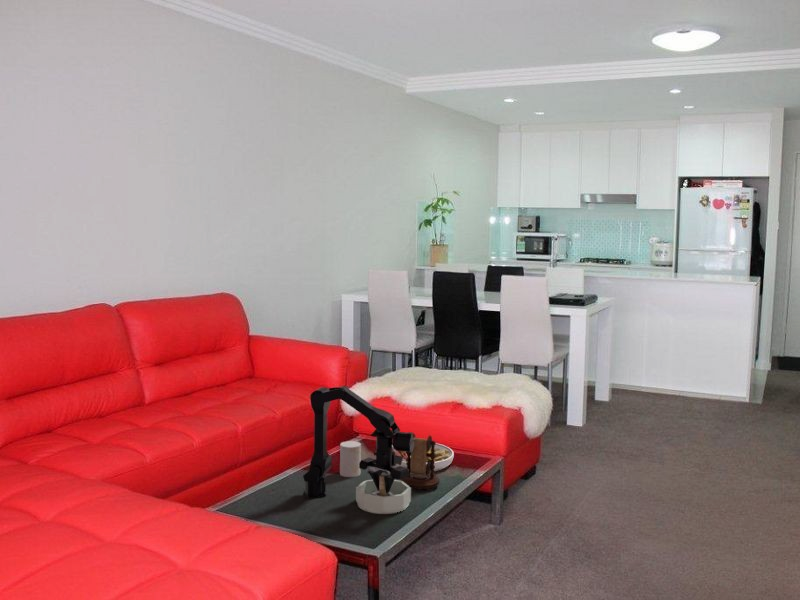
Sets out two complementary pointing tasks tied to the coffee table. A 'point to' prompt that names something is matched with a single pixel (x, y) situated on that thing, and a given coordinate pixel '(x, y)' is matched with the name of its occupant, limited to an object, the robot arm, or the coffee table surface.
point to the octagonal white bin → (383, 505)
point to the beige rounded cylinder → (382, 486)
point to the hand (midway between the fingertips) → (383, 491)
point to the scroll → (421, 465)
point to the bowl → (441, 459)
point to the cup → (350, 458)
